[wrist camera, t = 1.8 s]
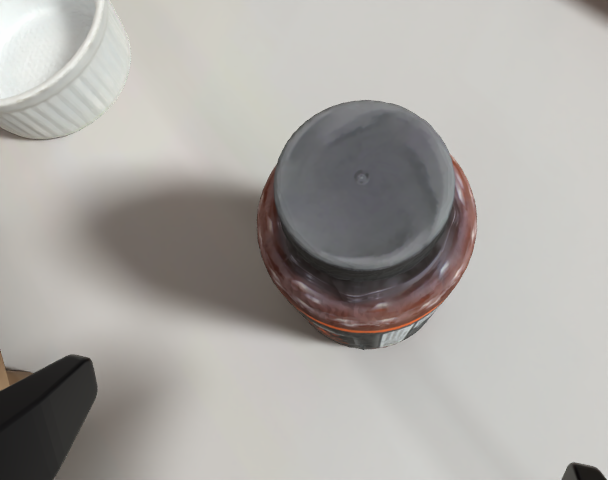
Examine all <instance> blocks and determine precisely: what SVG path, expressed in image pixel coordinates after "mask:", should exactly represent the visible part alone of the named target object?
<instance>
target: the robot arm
mask: <svg viewBox="0 0 608 480" xmlns="http://www.w3.org/2000/svg"><path fill="white" fill-rule="evenodd" d="M96 395H97V382H96V377H95V372H94V368H93V363H92V361H91V360H90V358H88V357H83V356H79V355H68V356H66V357H64V358H62V359H60V360H58V361H56V362H54V363H52V364H50V365H48V366H47V367H45V368H43V369H41V370H39V371H37V372H35V373H33V374H31V375H29V376H28V377H26V378H24V379H22V380H20V381H18V382H16V383H14V384H12V385H10V386H8V387H7V388H5V389H3V390H1V391H0V480H53V479H54V477H55V476H56V474H57V472H58V471H59V469H60V467H61V465H62V463H63V462H64V460H65V458H66V456H67V454H68V452H69V450H70V448H71V446H72V444H73V442H74V440H75V438H76V436H77V434H78V432H79V430H80V428H81V426H82V424H83V422H84V420H85V418H86V416H87V414H88V412H89V410H90V408H91V406H92V404H93V402H94V400H95V398H96ZM562 480H607V479H606V478H605V477H604V475H603V474H602V473H601V472H600V470H598V469H597V468H596V467H593V466H589V465H585V464H580V463H575V462H574V463H570V464H569V465H568V467H567V469H566V471H565V473H564V475H563V477H562Z"/></svg>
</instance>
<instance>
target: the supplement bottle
mask: <svg viewBox="0 0 608 480" xmlns="http://www.w3.org/2000/svg"><path fill="white" fill-rule="evenodd" d="M476 233H477V215H476V205H475V200H474V197H473V193H472V190H471V188H470V185H469V182H468V180H467V178H466V176H465V174H464V173H463V171H462V169H461V167H460V166H459V164H458V163H457V162H456V160H455V159H454V158H453V157H452V155H451V154H450V153H449V151H448V149H447V147H446V145H445V143H444V142H443V140H442V139H441V137H440V136H439V135H438V134H437V133H436V131H435V130H434V129H433V128H432V126H431V125H430V124H429V123H428V122H427V121H425V120H424V119H422V118H420V117H419V116H417V115H416V114H415V113H413V112H411V111H409V110H407V109H405V108H403V107H401V106H398V105H395V104H391V103H385V102H381V101H372V100H361V101H352V102H347V103H342V104H338V105H335V106H332V107H330V108H327V109H325V110H323V111H322V112H320V113H318V114H316V115H314V116H313V117H312V118H310V119H309V120H307V121H306V122H305V123H304V124H303V125H301V126H300V127H299V128H298V130H297V131H296V132H294V133H293V135H292V136H291V138H290V139H289V140H288V141H287V143H286V145H285V147H284V149H283V150H282V153H281V155H280V157H279V159H278V163H277V165H276V166H275V168H274V169H273V170H272V172H271V174H270V176H269V178H268V180H267V182H266V184H265V187H264V189H263V191H262V195H261V198H260V202H259V206H258V214H257V234H258V243H259V248H260V250H261V256H262V259H263V261H264V264H265V266H266V268H267V270H268V273H269V275H270V277H271V278H272V280H273V282H274V283H275V285H276V286H277V288H278V289H279V290H280V291H281V293H282V294H283V295H284V296H285V297H286V298H287V300H288V301H289V302H290V303H291V304H292V305H293V306H294V307H295V308H296V309H297V310H298V311H299V313H301V314H302V315H303V316H304V317H305V318H306V319H307V320H308V321H309V323H310V324H311V325H312V326H313V327H315V328H316V329H317V330H318V332H320V333H322V334H323V335H325V336H326V337H328V338H329V339H332V340H334V341H336V342H337V343H339V344H342V345H345V346H348V347H353V348H359V349H363V350H364V349H376V348H383V347H388V346H390V345H394V344H396V343H398V342H401V341H403V340H405V339H407V338H408V337H410V336H411V335H413V334H414V333H416V332H417V331H418V330H419V329H420V328H421V327H422V326H423V325H424V324H425V323H426V322H427V320H428V319H429V318H430V317H431V316H432V314H433V313H434V312H435V311H436V310H437V308H438V307H439V306H440V305H441V304H442V302H443V301H444V300H445V299H446V298H447V297H448V295H449V294H450V293H451V291H452V290H453V289H454V288H455V286H456V285H457V283H458V282H459V280H460V279H461V277H462V275H463V273H464V271H465V270H466V268H467V266H468V263H469V260H470V258H471V255H472V252H473V248H474V243H475V239H476Z"/></svg>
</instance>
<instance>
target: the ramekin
mask: <svg viewBox="0 0 608 480" xmlns="http://www.w3.org/2000/svg"><path fill="white" fill-rule="evenodd" d="M130 64H131V48H130V45H129V38H128V36H127V34H126V31H125V28H124V26H123V24H122V22H121V20H120V18H119V17H118V15H117V13H116V11H115V10H114V8H113V6H112V4H111V2H110V0H0V127H1V128H3V129H5V130H7V131H9V132H11V133H14V134H16V135H19V136H21V137H26V138H31V139H50V138H57V137H63V136H66V135H69V134H72V133H74V132H76V131H78V130H80V129H82V128H84V127H86V126H87V125H89V124H91V123H92V122H94V121H95V120H96V119H98V118H99V117H100V116H101V115H103V114H104V113H105V112H106V111H107V110H108V109H109V108H110V107H111V106H112V105H113V103H114V102H115V101H116V100H117V98H118V96H119V95H120V93H121V91H122V89H123V87H124V85H125V82H126V80H127V77H128V74H129V70H130Z"/></svg>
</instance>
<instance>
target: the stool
mask: <svg viewBox="0 0 608 480" xmlns="http://www.w3.org/2000/svg"><path fill="white" fill-rule="evenodd" d="M31 374H33V373H31V372H22V371H6V370H5V366H4V362H3V358H2V355H1V351H0V391H1V390H3V389H5V388H7V387H8V386H10V385H12V384H14V383H16V382H18V381H20V380H22V379H24V378H26V377H28V376H29V375H31Z"/></svg>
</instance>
